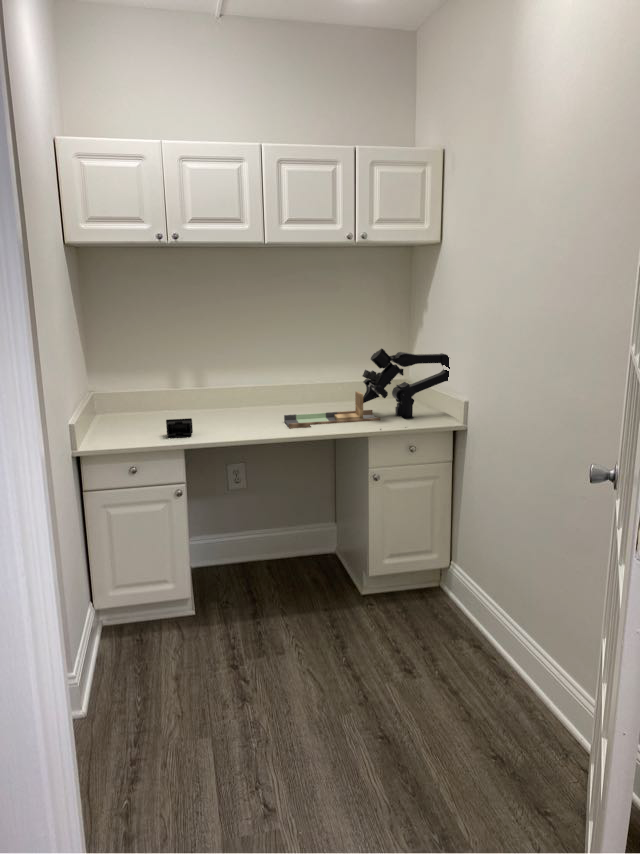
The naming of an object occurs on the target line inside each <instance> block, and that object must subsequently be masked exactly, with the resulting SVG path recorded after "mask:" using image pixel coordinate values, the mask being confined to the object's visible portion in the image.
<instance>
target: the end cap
mask: <svg viewBox="0 0 640 854" xmlns="http://www.w3.org/2000/svg"><path fill="white" fill-rule="evenodd" d="M165 424H166V425H165V426H166V435H167V439H168V438H171V439H185V438H186V439H187V437H188V438H192V435H193V431H194V430H193V419H192V418H188V417H187V418H171V419H165Z"/></svg>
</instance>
